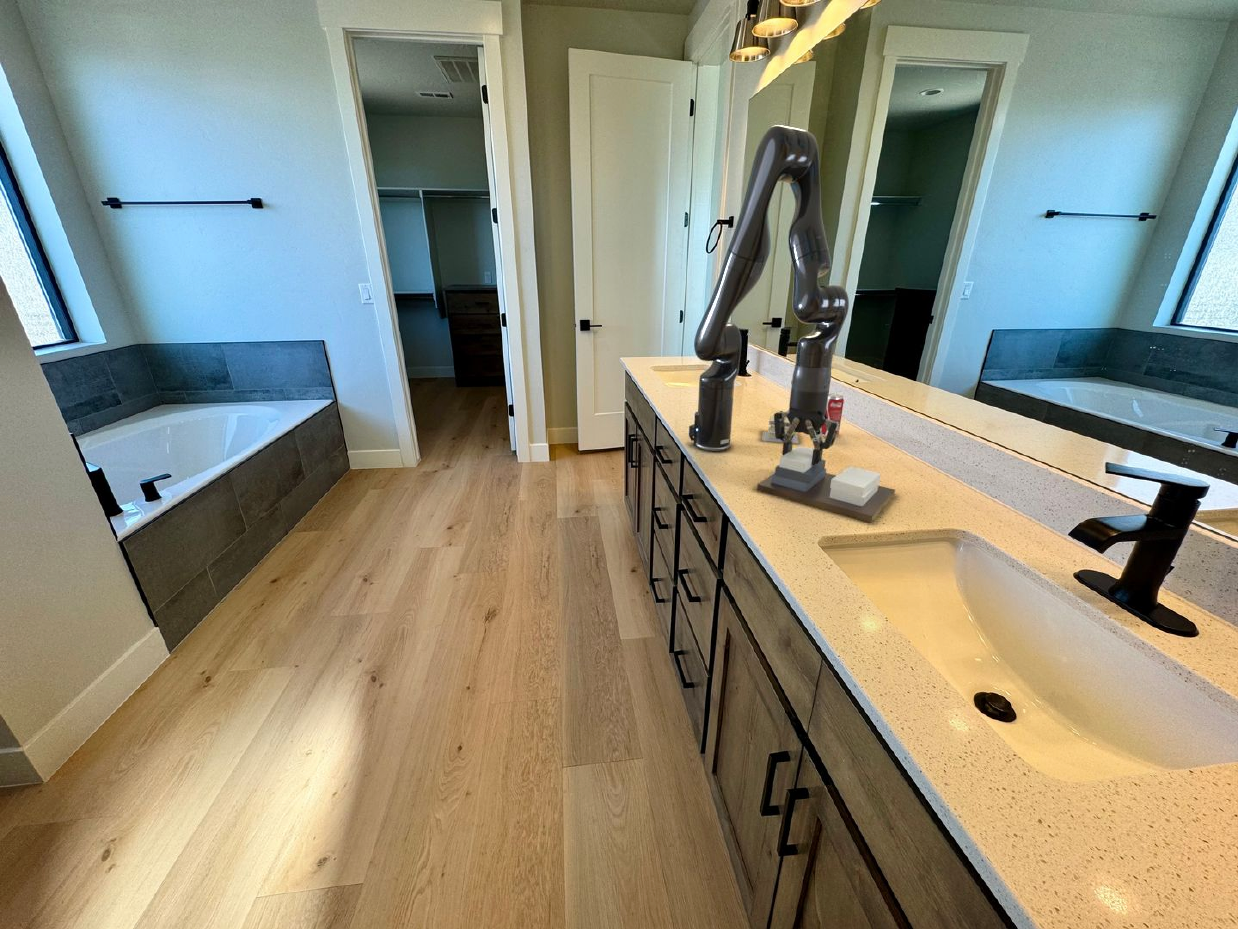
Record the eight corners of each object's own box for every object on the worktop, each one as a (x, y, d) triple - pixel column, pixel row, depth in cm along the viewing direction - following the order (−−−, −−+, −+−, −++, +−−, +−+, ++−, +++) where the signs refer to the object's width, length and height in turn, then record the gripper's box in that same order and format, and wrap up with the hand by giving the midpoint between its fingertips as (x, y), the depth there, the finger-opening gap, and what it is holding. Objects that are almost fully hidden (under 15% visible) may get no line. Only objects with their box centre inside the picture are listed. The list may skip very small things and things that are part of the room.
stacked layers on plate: (761, 440, 141) (763, 422, 139) (762, 431, 149) (764, 414, 147) (798, 443, 138) (801, 425, 136) (797, 434, 146) (800, 416, 144)
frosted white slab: (778, 466, 108) (779, 457, 107) (797, 454, 115) (798, 445, 114) (803, 473, 104) (805, 463, 104) (821, 459, 111) (822, 450, 110)
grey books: (770, 483, 110) (772, 466, 108) (791, 468, 117) (793, 452, 116) (807, 493, 104) (809, 475, 103) (826, 477, 112) (829, 460, 111)
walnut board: (756, 490, 110) (757, 483, 109) (787, 469, 121) (788, 463, 120) (871, 523, 95) (872, 516, 94) (894, 495, 106) (895, 489, 105)
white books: (828, 497, 102) (830, 479, 101) (844, 482, 109) (847, 465, 108) (862, 506, 98) (866, 488, 97) (878, 490, 105) (881, 473, 104)
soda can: (817, 432, 148) (822, 392, 143) (835, 432, 147) (841, 393, 142) (821, 437, 143) (827, 397, 138) (840, 438, 142) (846, 397, 138)
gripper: (851, 388, 101) (839, 464, 108) (785, 379, 110) (777, 450, 116) (839, 394, 96) (827, 474, 102) (770, 385, 105) (762, 458, 111)
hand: (800, 461), depth 109 cm, fingers closed on frosted white slab, 5 cm apart
